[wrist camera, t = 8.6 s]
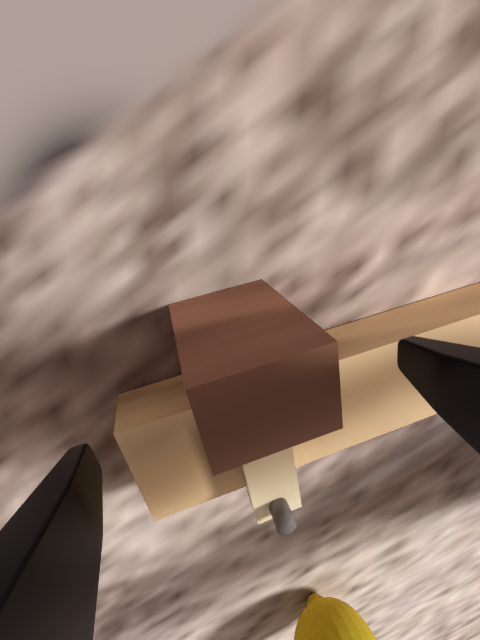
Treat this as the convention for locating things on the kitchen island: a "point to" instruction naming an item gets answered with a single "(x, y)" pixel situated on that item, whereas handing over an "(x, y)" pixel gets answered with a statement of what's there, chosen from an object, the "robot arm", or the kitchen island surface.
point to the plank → (358, 426)
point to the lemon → (331, 621)
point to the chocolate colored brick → (257, 388)
